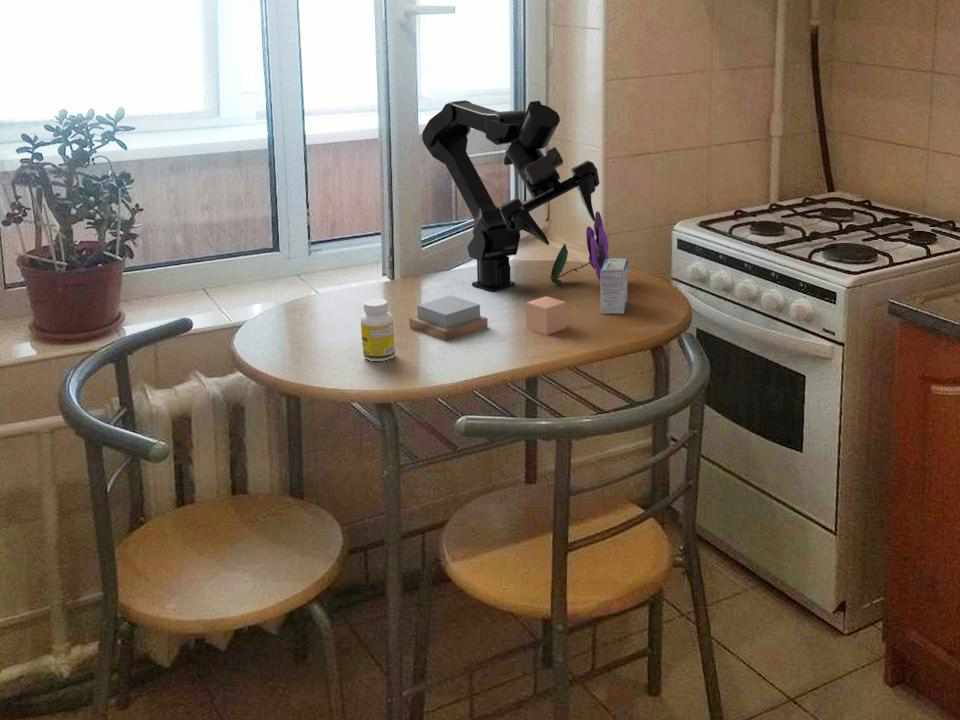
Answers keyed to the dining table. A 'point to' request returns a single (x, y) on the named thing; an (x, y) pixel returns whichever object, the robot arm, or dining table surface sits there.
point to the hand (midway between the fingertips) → (571, 231)
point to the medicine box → (614, 286)
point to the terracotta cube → (546, 315)
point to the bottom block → (448, 332)
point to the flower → (595, 248)
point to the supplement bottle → (377, 331)
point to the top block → (448, 311)
